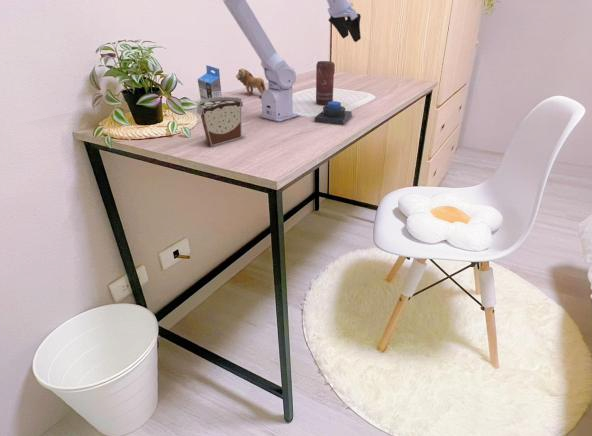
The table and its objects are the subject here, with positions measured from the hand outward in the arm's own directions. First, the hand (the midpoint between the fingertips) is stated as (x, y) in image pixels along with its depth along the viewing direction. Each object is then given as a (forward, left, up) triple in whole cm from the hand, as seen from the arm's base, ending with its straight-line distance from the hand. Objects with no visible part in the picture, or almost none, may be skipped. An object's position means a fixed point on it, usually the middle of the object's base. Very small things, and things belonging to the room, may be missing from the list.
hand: (351, 38), depth 118 cm
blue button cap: (-15, -4, -19) cm, 24 cm away
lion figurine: (-10, +37, -22) cm, 44 cm away
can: (-1, +10, -22) cm, 24 cm away
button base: (-15, -4, -22) cm, 27 cm away
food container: (-51, +7, -22) cm, 56 cm away
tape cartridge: (-31, +35, -22) cm, 51 cm away
